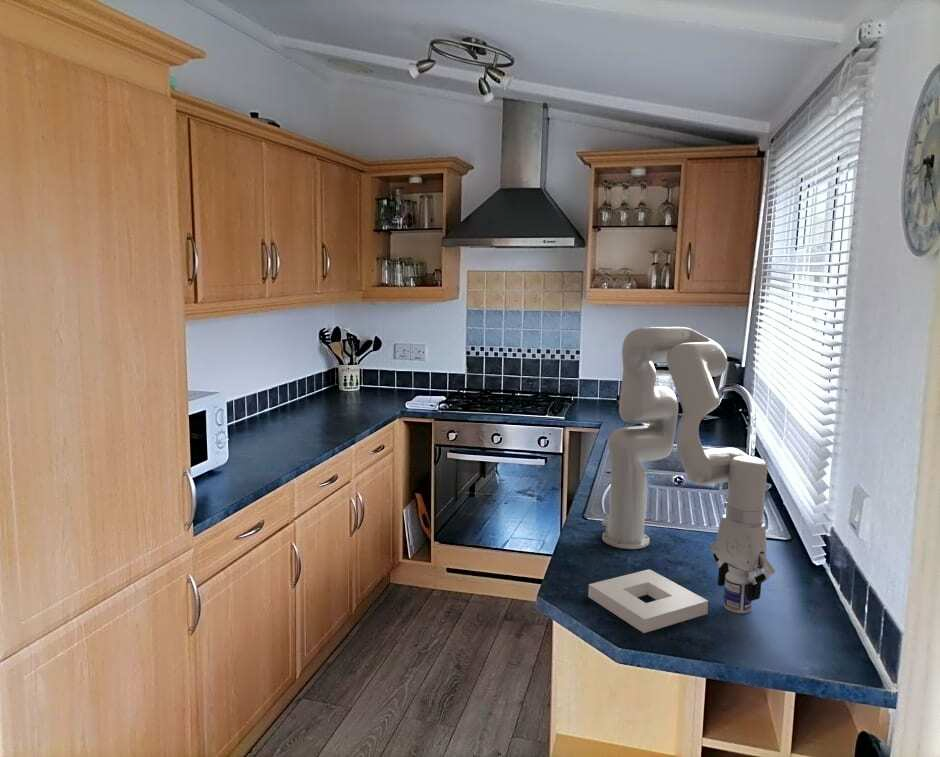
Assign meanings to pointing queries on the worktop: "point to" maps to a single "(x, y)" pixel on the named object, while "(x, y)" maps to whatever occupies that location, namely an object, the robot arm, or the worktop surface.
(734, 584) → the pill bottle
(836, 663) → the worktop surface
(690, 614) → the socket block
